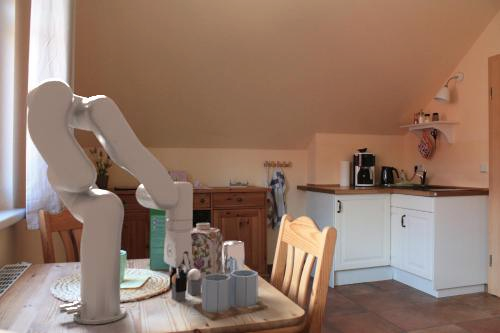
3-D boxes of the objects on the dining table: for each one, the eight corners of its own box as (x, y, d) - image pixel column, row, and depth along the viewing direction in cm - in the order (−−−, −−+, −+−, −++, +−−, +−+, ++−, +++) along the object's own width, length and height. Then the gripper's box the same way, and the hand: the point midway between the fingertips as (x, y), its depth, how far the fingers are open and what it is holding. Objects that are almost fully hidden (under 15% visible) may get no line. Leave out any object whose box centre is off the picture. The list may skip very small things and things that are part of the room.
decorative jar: (215, 281, 139) (215, 226, 139) (181, 279, 141) (181, 225, 141) (223, 272, 151) (223, 221, 150) (191, 270, 152) (192, 220, 152)
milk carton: (174, 269, 153) (175, 200, 152) (149, 269, 153) (150, 200, 153) (178, 264, 162) (179, 198, 161) (155, 263, 162) (156, 198, 162)
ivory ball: (191, 283, 123) (191, 270, 123) (186, 280, 126) (186, 268, 126) (202, 281, 125) (202, 269, 125) (197, 278, 128) (197, 266, 128)
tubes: (210, 314, 106) (210, 282, 106) (198, 306, 112) (198, 275, 112) (262, 304, 114) (262, 274, 114) (247, 296, 120) (248, 268, 120)
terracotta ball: (174, 288, 117) (174, 275, 117) (169, 285, 121) (169, 272, 121) (186, 286, 119) (186, 273, 119) (181, 283, 122) (181, 270, 122)
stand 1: (175, 301, 118) (175, 287, 118) (171, 298, 121) (171, 284, 121) (185, 299, 120) (185, 285, 120) (181, 296, 122) (181, 282, 122)
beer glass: (241, 296, 122) (241, 245, 122) (218, 295, 124) (218, 244, 124) (246, 290, 129) (246, 241, 129) (224, 288, 131) (224, 240, 131)
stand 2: (191, 295, 123) (191, 281, 123) (187, 292, 126) (187, 279, 126) (200, 293, 125) (201, 280, 125) (196, 291, 127) (196, 278, 127)
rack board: (211, 320, 104) (211, 315, 104) (193, 307, 113) (193, 303, 113) (267, 308, 113) (267, 304, 113) (245, 297, 122) (246, 293, 122)
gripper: (156, 222, 125) (155, 284, 125) (177, 230, 111) (176, 299, 111) (180, 220, 129) (179, 280, 129) (203, 228, 115) (202, 295, 115)
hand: (178, 289), depth 120 cm, fingers closed on terracotta ball, 3 cm apart
